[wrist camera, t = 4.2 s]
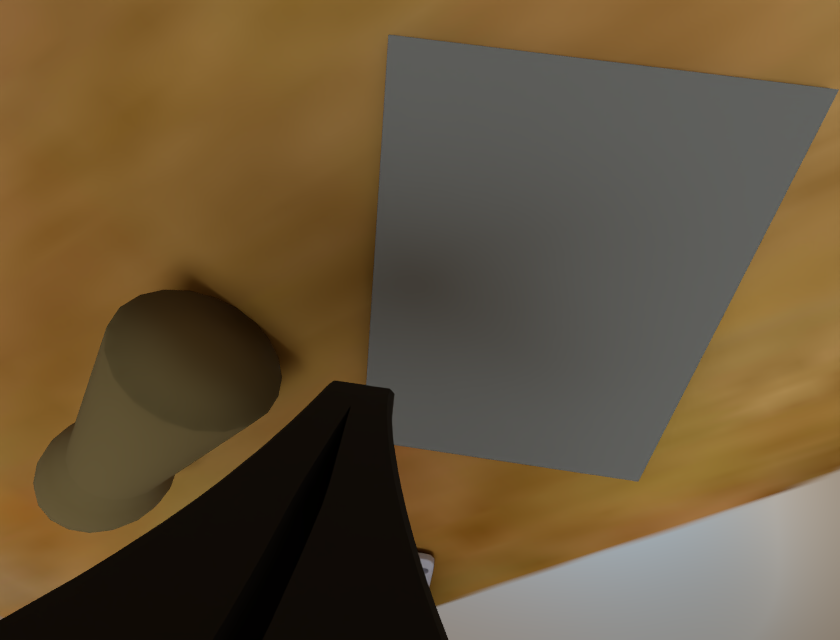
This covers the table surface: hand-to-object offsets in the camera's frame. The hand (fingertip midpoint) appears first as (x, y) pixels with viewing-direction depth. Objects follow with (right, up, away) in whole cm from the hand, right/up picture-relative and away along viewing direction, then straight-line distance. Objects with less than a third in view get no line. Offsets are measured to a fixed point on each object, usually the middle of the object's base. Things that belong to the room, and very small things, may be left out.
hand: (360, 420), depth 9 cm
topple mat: (+6, +3, +7) cm, 10 cm away
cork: (-6, +1, +6) cm, 8 cm away
